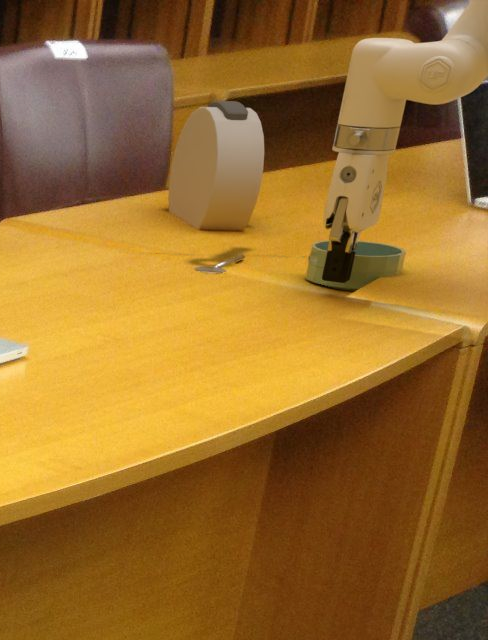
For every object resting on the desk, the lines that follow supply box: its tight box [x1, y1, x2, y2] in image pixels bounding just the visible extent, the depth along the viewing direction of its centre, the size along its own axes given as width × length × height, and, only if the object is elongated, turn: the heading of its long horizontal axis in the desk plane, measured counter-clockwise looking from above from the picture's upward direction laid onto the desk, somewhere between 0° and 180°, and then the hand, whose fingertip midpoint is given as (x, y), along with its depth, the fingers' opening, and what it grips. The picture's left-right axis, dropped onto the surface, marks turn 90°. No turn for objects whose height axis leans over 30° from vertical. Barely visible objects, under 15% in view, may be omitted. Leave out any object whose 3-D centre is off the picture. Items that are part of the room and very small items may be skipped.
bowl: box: [304, 239, 407, 292], centre depth 216 cm, size 12×12×5 cm
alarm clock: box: [167, 100, 265, 232], centre depth 252 cm, size 21×8×20 cm, turn 179°
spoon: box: [193, 253, 245, 274], centre depth 226 cm, size 16×4×1 cm, turn 141°
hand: (335, 280), depth 209 cm, fingers closed
